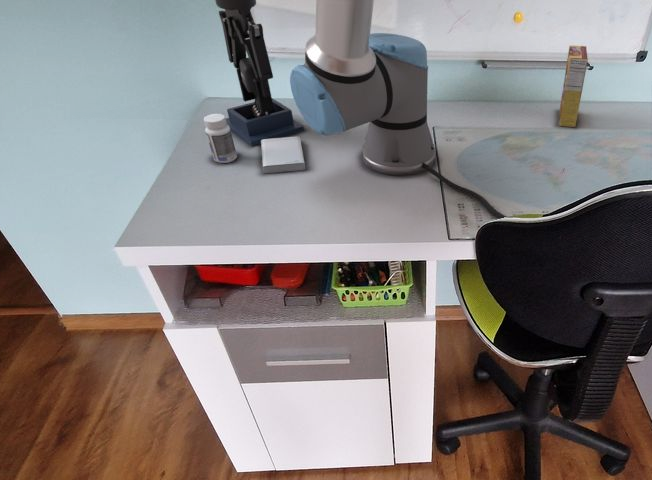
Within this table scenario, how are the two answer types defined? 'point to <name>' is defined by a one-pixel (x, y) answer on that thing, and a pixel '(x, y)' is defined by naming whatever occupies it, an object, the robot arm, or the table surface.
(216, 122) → the pill bottle
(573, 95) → the candy box
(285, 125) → the holder
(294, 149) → the hard drive
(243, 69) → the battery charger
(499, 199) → the table surface
